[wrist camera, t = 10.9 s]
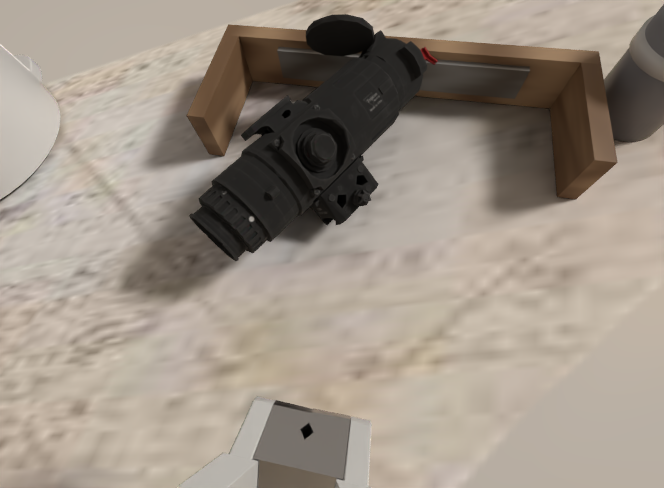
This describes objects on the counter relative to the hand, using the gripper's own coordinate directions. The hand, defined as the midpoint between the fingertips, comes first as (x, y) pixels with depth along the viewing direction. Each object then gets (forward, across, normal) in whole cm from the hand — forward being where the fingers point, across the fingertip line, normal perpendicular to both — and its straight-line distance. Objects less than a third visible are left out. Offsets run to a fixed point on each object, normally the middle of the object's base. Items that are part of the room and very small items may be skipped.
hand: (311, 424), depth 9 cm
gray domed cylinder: (+24, -18, -9) cm, 31 cm away
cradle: (+22, -1, -6) cm, 23 cm away
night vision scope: (+19, +3, -2) cm, 19 cm away
